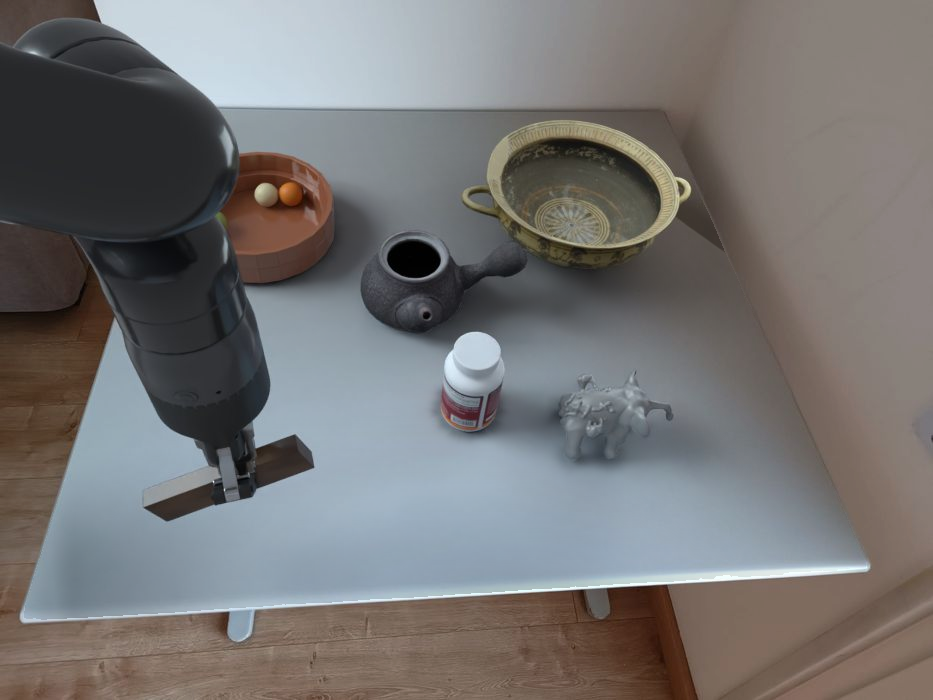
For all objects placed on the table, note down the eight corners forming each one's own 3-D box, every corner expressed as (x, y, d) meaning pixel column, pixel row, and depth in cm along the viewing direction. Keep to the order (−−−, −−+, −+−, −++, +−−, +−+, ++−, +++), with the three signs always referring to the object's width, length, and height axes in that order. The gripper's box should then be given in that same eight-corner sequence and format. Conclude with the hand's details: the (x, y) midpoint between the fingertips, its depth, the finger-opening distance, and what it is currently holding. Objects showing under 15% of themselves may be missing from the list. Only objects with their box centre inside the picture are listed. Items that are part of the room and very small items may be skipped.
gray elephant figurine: (538, 409, 79) (551, 370, 73) (631, 381, 83) (651, 342, 76) (575, 481, 74) (593, 446, 68) (672, 449, 78) (697, 412, 72)
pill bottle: (481, 378, 81) (492, 317, 72) (505, 422, 78) (520, 364, 69) (430, 396, 79) (436, 335, 70) (453, 441, 76) (462, 384, 67)
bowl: (193, 297, 84) (183, 265, 80) (183, 194, 94) (173, 160, 90) (347, 273, 88) (345, 241, 84) (321, 177, 98) (318, 144, 94)
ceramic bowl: (647, 174, 105) (668, 116, 97) (701, 297, 91) (731, 242, 83) (445, 179, 100) (450, 119, 92) (470, 310, 87) (478, 253, 79)
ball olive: (220, 206, 90) (234, 218, 88) (215, 227, 91) (229, 239, 90) (200, 206, 87) (214, 218, 86) (194, 227, 89) (208, 240, 87)
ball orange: (293, 176, 91) (289, 196, 90) (309, 187, 94) (305, 207, 93) (276, 180, 93) (272, 201, 92) (292, 192, 95) (288, 212, 94)
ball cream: (261, 214, 92) (282, 206, 92) (249, 195, 90) (271, 187, 90) (261, 201, 95) (282, 194, 94) (250, 183, 92) (271, 175, 92)
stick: (311, 451, 60) (295, 433, 57) (315, 468, 59) (298, 450, 56) (166, 504, 60) (142, 489, 57) (167, 522, 59) (142, 507, 56)
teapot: (368, 363, 81) (366, 307, 73) (356, 263, 89) (353, 203, 81) (529, 349, 84) (544, 293, 76) (502, 254, 93) (513, 195, 85)
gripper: (276, 432, 42) (303, 544, 55) (248, 265, 49) (279, 400, 63) (139, 460, 40) (203, 568, 54) (132, 282, 47) (190, 417, 61)
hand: (244, 477), depth 58 cm, fingers closed on stick, 1 cm apart
